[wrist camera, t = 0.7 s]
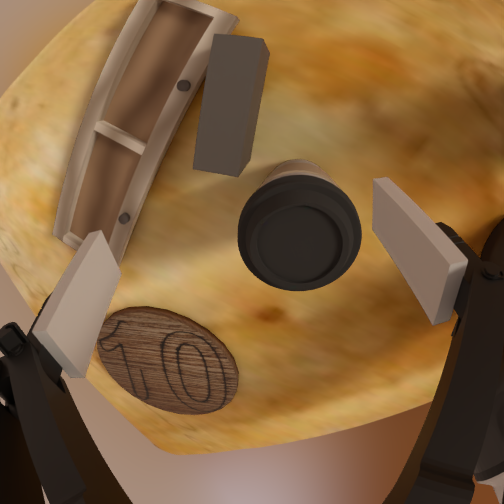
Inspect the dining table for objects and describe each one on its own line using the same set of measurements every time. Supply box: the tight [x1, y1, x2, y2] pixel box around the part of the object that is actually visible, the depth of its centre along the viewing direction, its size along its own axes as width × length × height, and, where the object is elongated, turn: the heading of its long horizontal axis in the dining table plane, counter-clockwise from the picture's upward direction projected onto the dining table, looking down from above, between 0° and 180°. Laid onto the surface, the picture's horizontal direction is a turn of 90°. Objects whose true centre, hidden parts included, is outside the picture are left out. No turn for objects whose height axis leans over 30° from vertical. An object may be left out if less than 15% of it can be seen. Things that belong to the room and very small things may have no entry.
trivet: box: [97, 306, 239, 415], centre depth 49 cm, size 25×25×2 cm
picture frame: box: [193, 33, 270, 177], centre depth 27 cm, size 4×12×8 cm, turn 170°
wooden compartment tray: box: [53, 0, 239, 267], centre depth 32 cm, size 11×34×4 cm, turn 150°
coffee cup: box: [238, 159, 362, 291], centre depth 28 cm, size 9×9×15 cm
